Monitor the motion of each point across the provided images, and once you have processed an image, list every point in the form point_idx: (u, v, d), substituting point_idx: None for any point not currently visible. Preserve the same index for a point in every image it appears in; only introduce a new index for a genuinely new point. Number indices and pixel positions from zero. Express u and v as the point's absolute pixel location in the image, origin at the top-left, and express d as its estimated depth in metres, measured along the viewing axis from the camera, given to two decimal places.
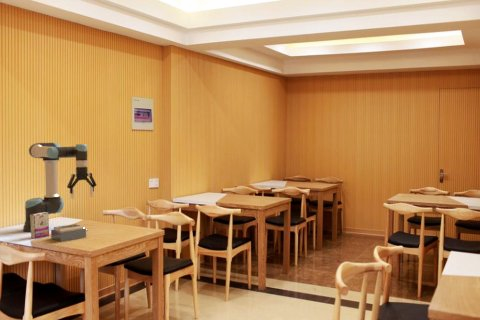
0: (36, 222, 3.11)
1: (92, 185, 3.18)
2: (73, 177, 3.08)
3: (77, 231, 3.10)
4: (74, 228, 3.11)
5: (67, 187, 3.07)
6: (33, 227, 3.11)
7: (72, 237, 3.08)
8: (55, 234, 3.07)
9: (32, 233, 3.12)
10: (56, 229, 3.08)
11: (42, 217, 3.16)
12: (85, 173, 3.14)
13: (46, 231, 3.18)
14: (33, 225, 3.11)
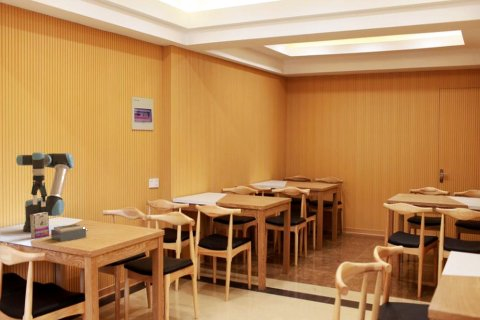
0: (36, 222, 3.11)
1: (41, 195, 3.09)
2: (33, 184, 3.18)
3: (77, 231, 3.10)
4: (74, 228, 3.11)
5: None
6: (33, 227, 3.11)
7: (72, 237, 3.08)
8: (55, 234, 3.07)
9: (32, 233, 3.12)
10: (56, 229, 3.08)
11: (42, 217, 3.16)
12: (38, 182, 3.12)
13: (46, 231, 3.18)
14: (33, 225, 3.11)
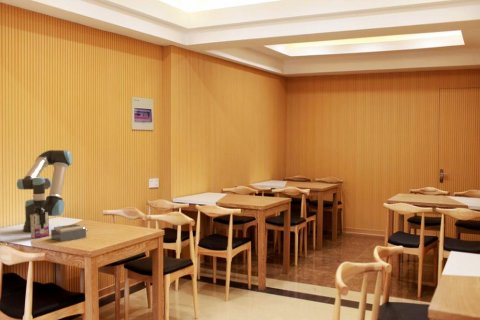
0: (36, 222, 3.11)
1: (40, 222, 3.13)
2: (34, 210, 3.19)
3: (77, 231, 3.10)
4: (74, 228, 3.11)
5: None
6: (33, 227, 3.11)
7: (72, 237, 3.08)
8: (55, 234, 3.07)
9: (32, 233, 3.12)
10: (56, 229, 3.08)
11: None
12: (39, 206, 3.13)
13: (46, 231, 3.18)
14: (33, 225, 3.11)
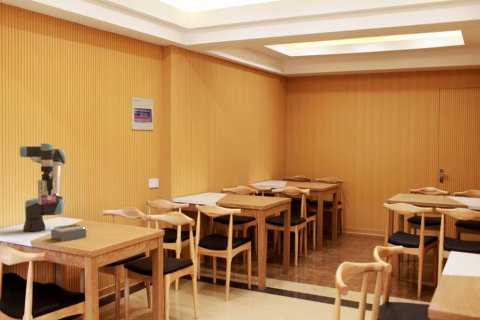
0: (43, 188, 3.08)
1: (47, 188, 3.10)
2: (42, 177, 3.16)
3: (77, 231, 3.10)
4: (74, 228, 3.11)
5: None
6: (40, 193, 3.08)
7: (72, 237, 3.08)
8: (55, 234, 3.07)
9: (40, 199, 3.09)
10: (56, 229, 3.08)
11: None
12: (46, 172, 3.10)
13: (54, 198, 3.15)
14: (40, 191, 3.08)
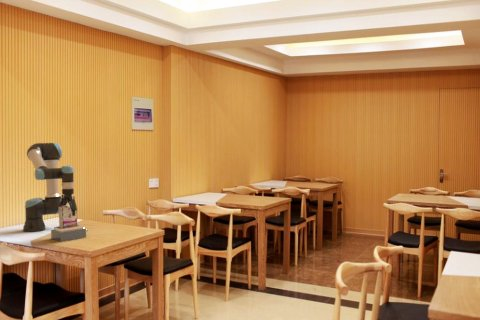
0: (64, 214, 3.08)
1: (71, 209, 3.06)
2: None
3: (77, 231, 3.10)
4: (74, 228, 3.11)
5: None
6: (61, 219, 3.07)
7: (72, 237, 3.08)
8: (55, 234, 3.07)
9: (61, 225, 3.08)
10: (56, 229, 3.08)
11: None
12: (67, 195, 3.09)
13: (75, 223, 3.14)
14: (61, 218, 3.08)
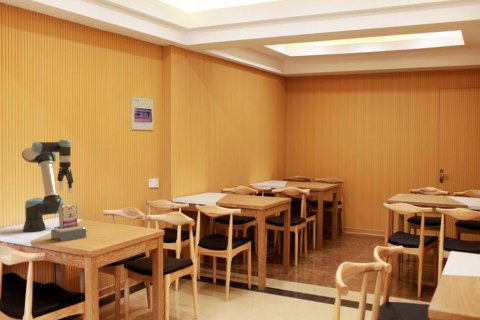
0: (64, 214, 3.07)
1: (68, 181, 3.17)
2: (59, 170, 3.26)
3: (77, 231, 3.10)
4: (74, 228, 3.11)
5: None
6: (62, 219, 3.07)
7: (72, 237, 3.08)
8: (55, 234, 3.07)
9: (61, 225, 3.08)
10: (56, 229, 3.08)
11: (71, 209, 3.12)
12: (64, 168, 3.20)
13: (75, 223, 3.14)
14: (61, 218, 3.07)
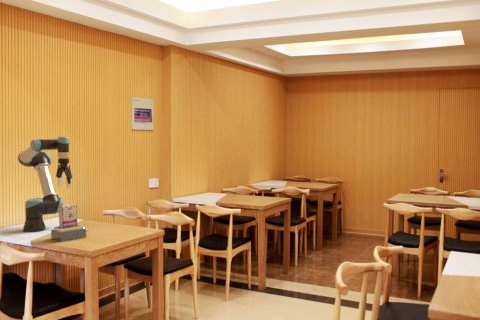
0: (64, 214, 3.07)
1: None
2: (58, 167, 3.33)
3: (77, 231, 3.10)
4: (74, 228, 3.11)
5: None
6: (62, 219, 3.07)
7: (72, 237, 3.08)
8: (55, 234, 3.07)
9: (61, 225, 3.08)
10: (56, 229, 3.08)
11: (71, 209, 3.12)
12: (63, 165, 3.27)
13: (75, 223, 3.14)
14: (61, 218, 3.07)
